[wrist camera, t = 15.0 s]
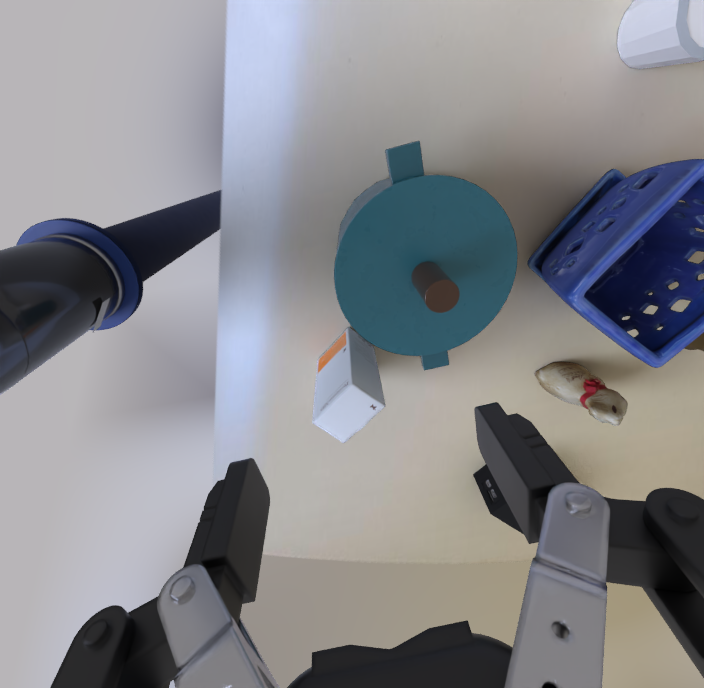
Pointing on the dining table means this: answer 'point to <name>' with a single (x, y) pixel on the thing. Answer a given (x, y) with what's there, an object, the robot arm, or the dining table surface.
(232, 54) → the dining table surface
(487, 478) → the digital camera
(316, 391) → the cosmetic box
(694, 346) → the kendama
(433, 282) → the lid
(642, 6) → the shot glass
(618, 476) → the dining table surface
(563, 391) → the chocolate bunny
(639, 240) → the flower pot
